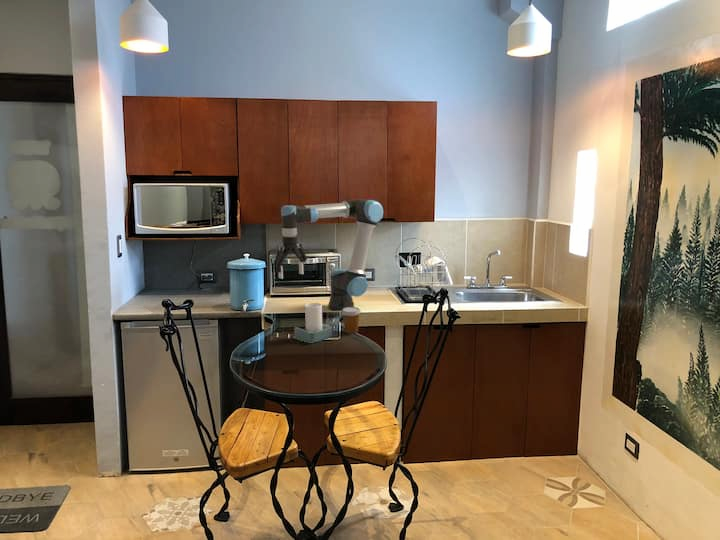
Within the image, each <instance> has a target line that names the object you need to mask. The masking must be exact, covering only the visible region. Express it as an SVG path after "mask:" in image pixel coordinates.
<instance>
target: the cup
mask: <svg viewBox="0 0 720 540" xmlns="http://www.w3.org/2000/svg"><path fill="white" fill-rule="evenodd" d="M322 307H323V305H322V303H319V302H308V303H306V304H305V305H304V311H305V312H304V313H305V317H304V318H305V330H307V331H310V332H316V331H320V330H322V324H323V308H322Z"/></svg>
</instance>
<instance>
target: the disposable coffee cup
mask: <svg viewBox="0 0 720 540" xmlns="http://www.w3.org/2000/svg"><path fill="white" fill-rule="evenodd" d="M341 313H342V318H343V324H344V331H345V332H344V333H346V334H347V335H354V334H357V333H358V332H359V323H360V322H359V321H360V316H361V315H360V314H361V310H360V308H358V307H355V306H354V307H347V308H344V309H343V310H342V311H341Z"/></svg>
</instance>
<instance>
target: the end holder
mask: <svg viewBox="0 0 720 540" xmlns="http://www.w3.org/2000/svg"><path fill="white" fill-rule="evenodd" d="M293 329H294V330H293V331H294V332H293V333H294V335H293V336H292V338H293V339H295V340H298V341H301V342H303V341H304V343H306V342H308V343H307V344H309V343H314V342H317V343H319V342H318V341H320V342H322V340H323V341H326V340H329V339H332V338H335V337H337V335H336V334H335V327H334V326H332V325H329V324H325V323H322V330H320V331H316V332H310V331H307V330H306V329H304V328H301V327H298V326H296V327H293ZM328 338H329V339H328ZM314 344H315V343H314Z"/></svg>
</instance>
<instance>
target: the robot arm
mask: <svg viewBox="0 0 720 540" xmlns="http://www.w3.org/2000/svg"><path fill="white" fill-rule="evenodd" d="M280 210H281V213H280V215H281V217H280V218H281V233H282V234H281V235H282V246H281V245H280V246H279V245H278V247H277V252H276V256H275V259H274V262H273V265H274V266H276V269H277V271H276V272H277V273H278V274H277V275H278V279H281V280H283V279H284V269H283V267H284V266H283V263H284V261H285V260H286V258H287V256H289V255H291V254H292V255H293V254H294V256H295V257H296V258H297V259H298V260H299V261H298V274H299V275H304V268H305V262H306V261H307V260H308V257H307V255H306V253H305V251H304V249H303V244H302V243H301V242H300V243H299V242H298V236H297V235H298V228H297V227H298V226H297V225H298V224H305V223H307V224H308V223H310V224H311V223H316V222H317V221H318V219H326V218H327V219H328V218H337V217H338V218H339V217H340V218H341V217H343V218H344V219H348V218H349V219H350V218H351V219H356V224H357V230H356V234H355V239H354V243H353V248H352V252H351V253H352V254H351V258H350V263H349V267H348V268H336V269H332V270H331V271H330V276H329V277H330V298H329V302H328V304H327V305H328V306H327V307H328V309H329V310H331V311H335V310H343V309H344V308H347V307H355V303H354V300H353V297H360V296H363V294H365V293H366V291H367V290H368V288H369V287H368V286H369V282H368V280H367V279H366V277H367V273H366V270H365V269H366V265H367V259H368V256H369V251H370V246H371V240H372V236H373V232H374V229H375V228H376V227H377V225H378V223H379V222H381V220H382V219H383V215H384V208H383V206H382V204H381V203H380V202H379V201H376V200H373V199H363V198H358V199H351V200H343V201H342V202H339V203H337V202H336V203H335V202H334V203H323V204H320V203H319V204H307V205H292V204H291V205H288V204H287V205H282V206H281V209H280Z"/></svg>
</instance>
